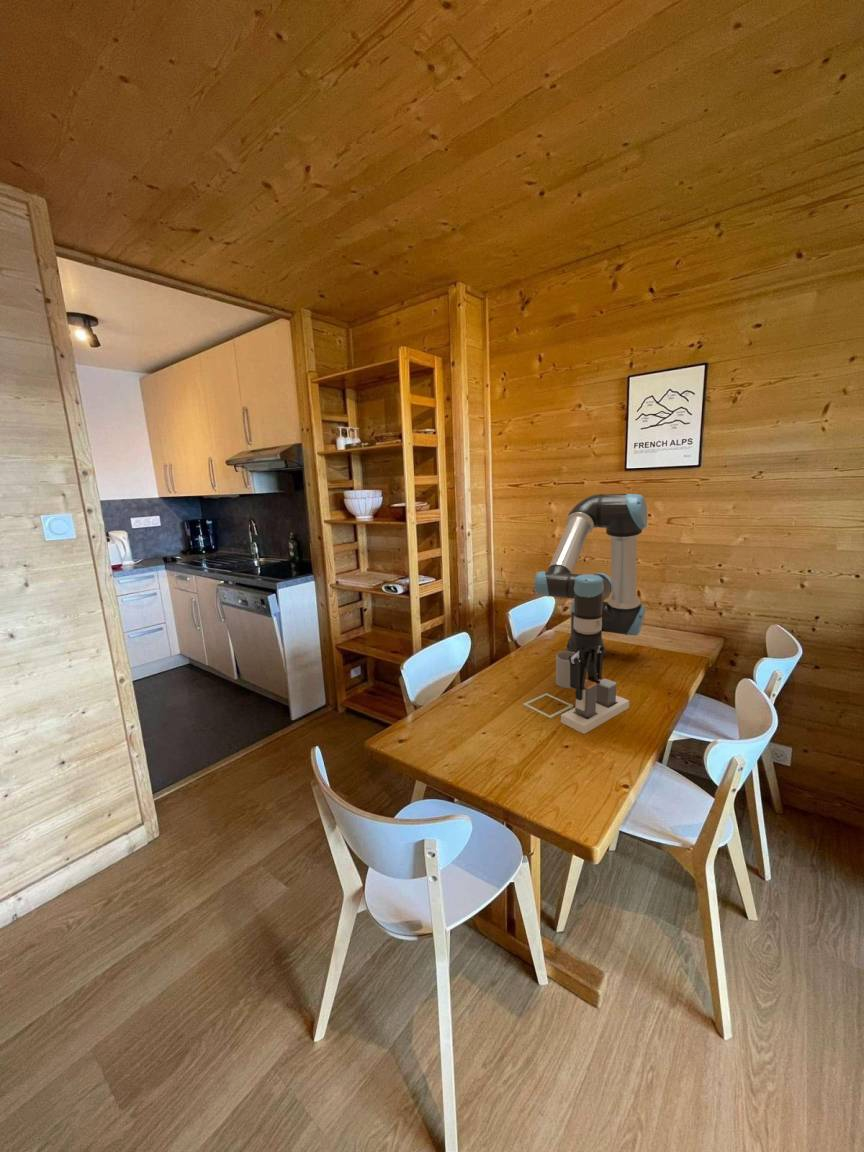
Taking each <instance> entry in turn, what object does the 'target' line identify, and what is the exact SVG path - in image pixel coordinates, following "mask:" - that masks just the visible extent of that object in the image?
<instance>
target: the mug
mask: <svg viewBox="0 0 864 1152" xmlns="http://www.w3.org/2000/svg"><path fill="white" fill-rule="evenodd" d="M574 655H575V652H570V651H566V650H565V651H559V652H558V653H556V656H555V686H559V687H560V688H565V689H569V690H570V689H572V688H571V687H570V662H569V656H574Z"/></svg>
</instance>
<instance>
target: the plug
mask: <svg viewBox="0 0 864 1152" xmlns="http://www.w3.org/2000/svg"><path fill="white" fill-rule="evenodd" d="M584 689H586V700H585V711H582V710H580V709H578V708H576V705H574V706H575V707H574V708H575V711H577V712H579V713H581V714H583V715H586V716H588V715H590V714H592V713H594V712H596V690H597V684H596V683H595V682H593V681H590V680H588V678H585V684H584Z"/></svg>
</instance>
